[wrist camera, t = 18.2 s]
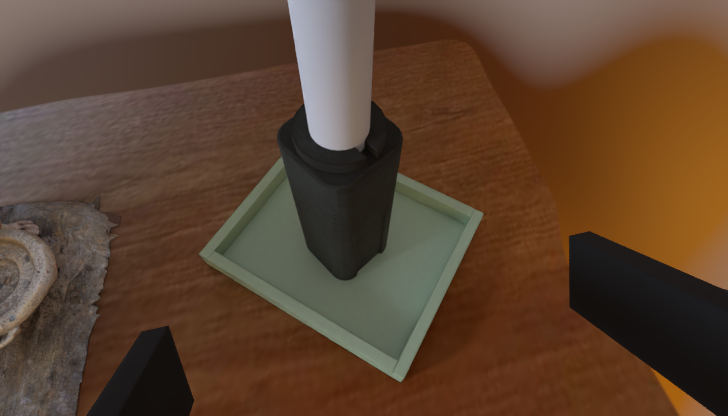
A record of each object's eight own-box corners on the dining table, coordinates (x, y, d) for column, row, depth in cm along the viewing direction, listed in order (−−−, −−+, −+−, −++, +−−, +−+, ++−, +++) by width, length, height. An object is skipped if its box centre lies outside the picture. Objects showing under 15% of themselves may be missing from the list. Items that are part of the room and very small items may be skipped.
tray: (207, 264, 30) (198, 254, 28) (307, 142, 36) (304, 128, 34) (400, 382, 26) (403, 379, 24) (477, 224, 32) (484, 212, 30)
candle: (348, 202, 32) (328, -274, 10) (392, 243, 30) (482, -225, 9) (299, 241, 30) (153, -234, 9) (344, 287, 29) (301, -163, 7)
